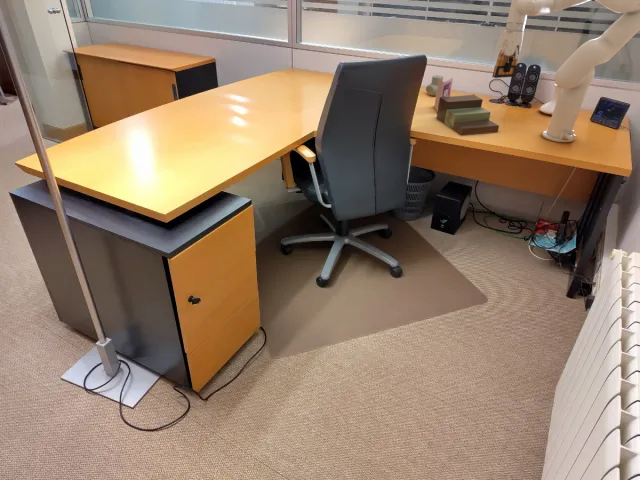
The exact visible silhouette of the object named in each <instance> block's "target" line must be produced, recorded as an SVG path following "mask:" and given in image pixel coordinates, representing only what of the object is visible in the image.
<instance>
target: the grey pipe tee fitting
mask: <svg viewBox="0 0 640 480" xmlns="http://www.w3.org/2000/svg"><path fill="white" fill-rule="evenodd" d="M439 77H440V78H441V80H442V81H443V82H444V76H443V75H438V74H436V75H435V74H434V75H432V77H431V83H429V84H427V86H426V87H425V92H426V93H427V94H428V95H429V96H431V97H436V93H437V86H438V80H439Z"/></svg>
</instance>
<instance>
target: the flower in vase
mask: <svg viewBox="0 0 640 480" xmlns="http://www.w3.org/2000/svg"><path fill="white" fill-rule="evenodd" d="M560 91H561V88H559V87H558V86H557V85H556V83H554V94H553V98H552V99H551V100H550V101H548V102H546V103H544V104H543V105H541V106H540V108H539V110H540V112H542V113H544V114H546V115H551V116H552V114H553V111H554V108H555V105H556V102H557V99H558V96H559V93H560Z"/></svg>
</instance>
